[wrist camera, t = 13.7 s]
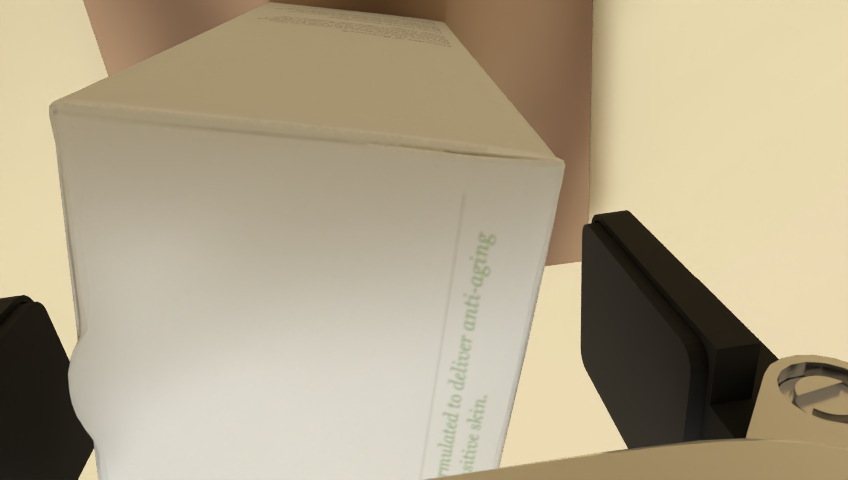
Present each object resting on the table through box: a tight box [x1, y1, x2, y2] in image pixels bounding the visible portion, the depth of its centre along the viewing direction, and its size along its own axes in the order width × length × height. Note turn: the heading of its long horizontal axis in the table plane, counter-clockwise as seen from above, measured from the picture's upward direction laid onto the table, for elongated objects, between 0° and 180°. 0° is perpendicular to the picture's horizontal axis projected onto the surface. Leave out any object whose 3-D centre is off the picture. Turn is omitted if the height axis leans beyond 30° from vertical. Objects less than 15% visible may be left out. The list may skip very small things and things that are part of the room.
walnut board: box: [83, 0, 593, 266], centre depth 24 cm, size 17×15×2 cm
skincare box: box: [49, 2, 565, 480], centre depth 16 cm, size 8×7×16 cm
